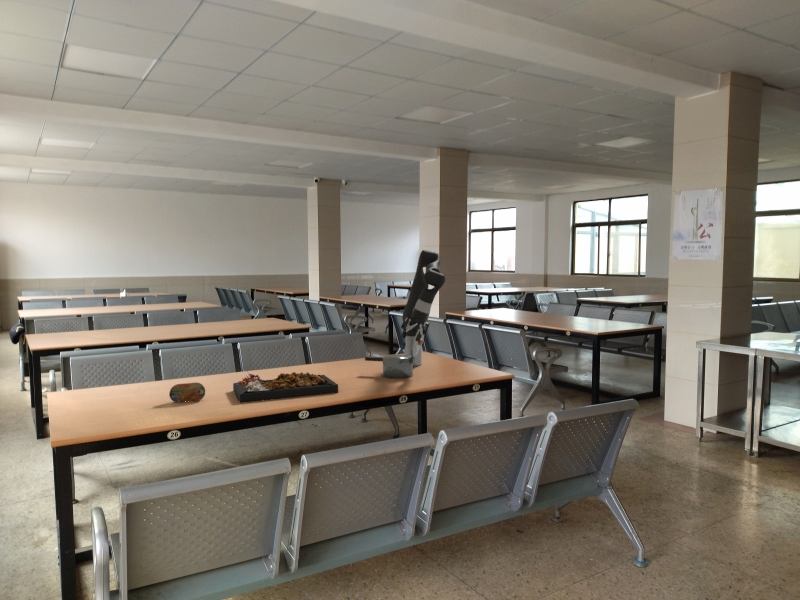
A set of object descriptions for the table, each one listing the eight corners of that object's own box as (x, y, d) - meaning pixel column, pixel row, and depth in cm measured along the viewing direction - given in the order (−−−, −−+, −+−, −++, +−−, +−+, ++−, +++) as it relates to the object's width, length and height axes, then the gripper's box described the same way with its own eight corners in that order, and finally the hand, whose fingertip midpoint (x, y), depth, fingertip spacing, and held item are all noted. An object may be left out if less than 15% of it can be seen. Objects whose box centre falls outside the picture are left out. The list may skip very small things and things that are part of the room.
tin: (169, 403, 254) (168, 385, 253) (170, 402, 257) (169, 383, 256) (205, 401, 258) (204, 382, 258) (205, 399, 261) (205, 381, 261)
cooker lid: (416, 354, 314) (421, 356, 313) (407, 360, 298) (413, 362, 297) (428, 307, 310) (434, 308, 309) (420, 310, 294) (426, 311, 293)
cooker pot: (417, 373, 314) (417, 355, 313) (409, 379, 299) (409, 360, 298) (371, 370, 322) (370, 353, 321) (361, 376, 306) (360, 358, 306)
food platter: (240, 404, 254) (239, 381, 253) (233, 392, 277) (232, 371, 276) (338, 393, 272) (337, 372, 271) (324, 383, 294) (323, 363, 293)
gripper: (429, 310, 290) (417, 339, 293) (406, 304, 282) (394, 334, 285) (437, 315, 284) (425, 345, 286) (414, 309, 276) (402, 340, 279)
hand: (410, 339), depth 286 cm, fingers open, 8 cm apart
